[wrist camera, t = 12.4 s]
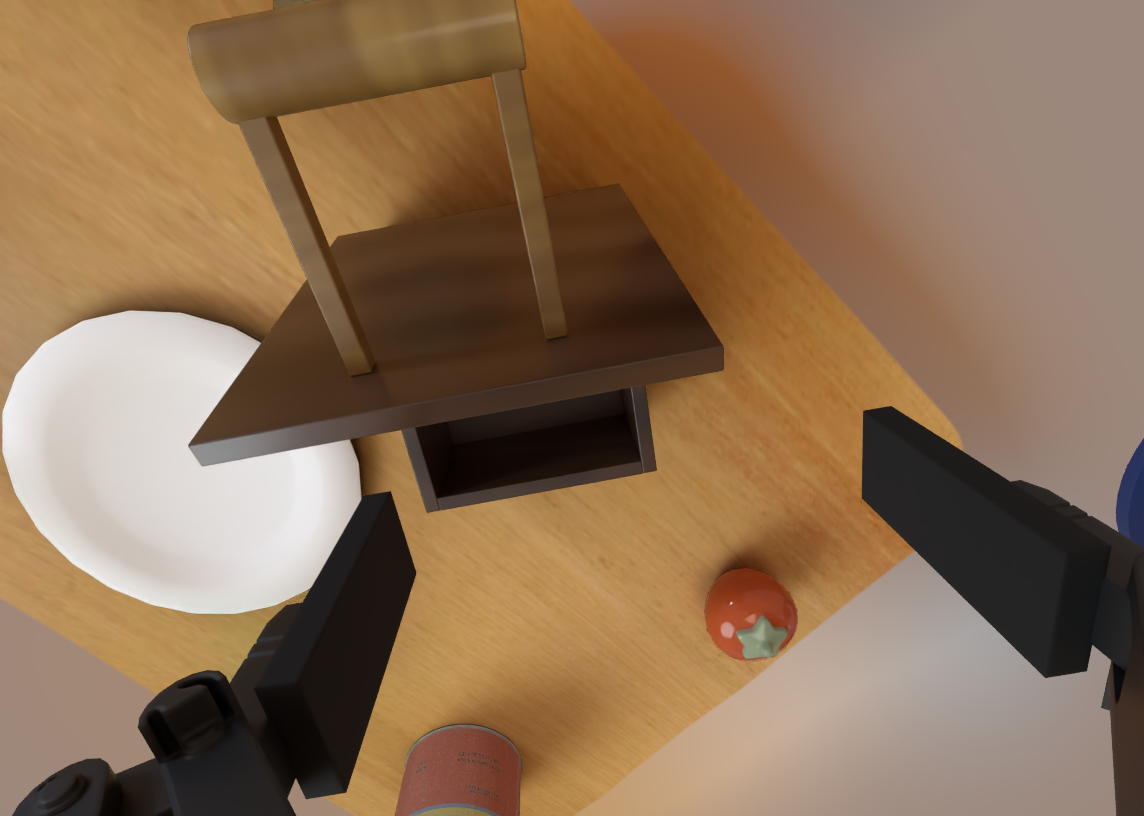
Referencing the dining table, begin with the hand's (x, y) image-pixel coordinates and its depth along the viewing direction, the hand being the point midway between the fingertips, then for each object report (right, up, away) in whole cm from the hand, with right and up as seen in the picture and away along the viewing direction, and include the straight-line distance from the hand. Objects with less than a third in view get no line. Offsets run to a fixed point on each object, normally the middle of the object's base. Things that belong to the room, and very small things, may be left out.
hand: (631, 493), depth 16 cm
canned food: (-12, -33, +41) cm, 54 cm away
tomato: (+13, -13, +35) cm, 40 cm away
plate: (-30, -2, +29) cm, 42 cm away
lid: (-6, +7, +7) cm, 11 cm away
